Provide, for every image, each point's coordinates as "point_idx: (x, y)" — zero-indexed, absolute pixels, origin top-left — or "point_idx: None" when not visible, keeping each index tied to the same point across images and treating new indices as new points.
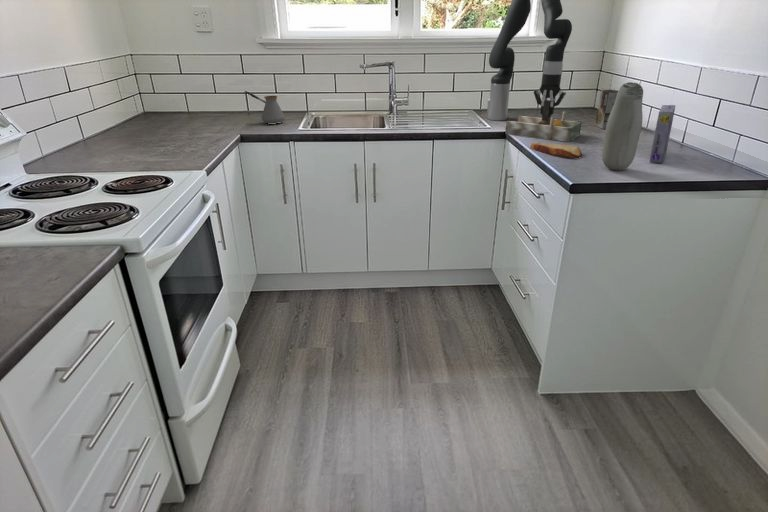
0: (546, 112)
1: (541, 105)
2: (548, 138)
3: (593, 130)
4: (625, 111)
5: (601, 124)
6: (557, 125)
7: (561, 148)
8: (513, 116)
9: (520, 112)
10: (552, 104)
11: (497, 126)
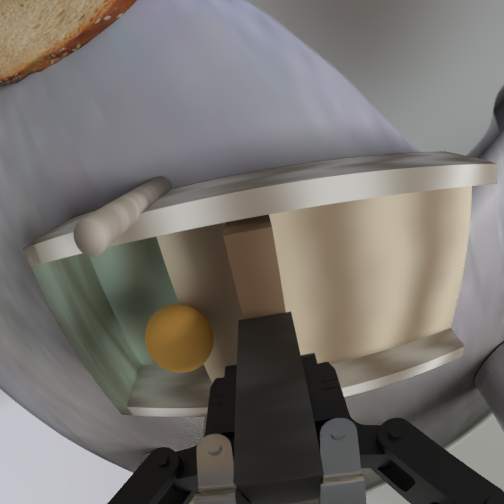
0: (258, 372)
1: (346, 422)
2: (161, 178)
3: (165, 433)
4: None
5: None
6: (157, 313)
7: (7, 25)
8: (455, 411)
9: (439, 440)
10: (206, 459)
11: (498, 278)
